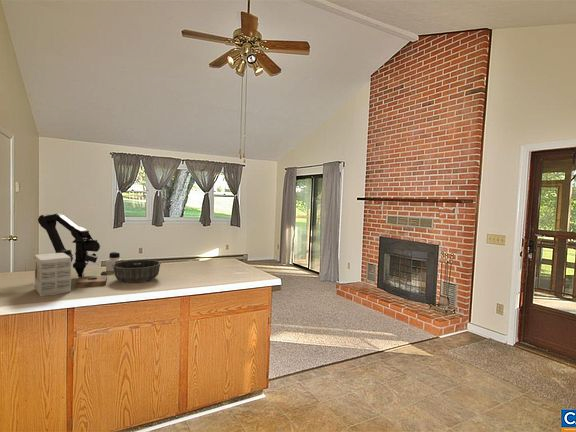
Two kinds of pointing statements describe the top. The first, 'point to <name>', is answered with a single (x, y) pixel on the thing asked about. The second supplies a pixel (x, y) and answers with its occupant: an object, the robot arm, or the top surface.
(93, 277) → the walnut board
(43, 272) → the supplement box
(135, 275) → the bundt pan
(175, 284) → the top surface
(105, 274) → the dark gray rubber ball
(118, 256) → the medicine bottle
